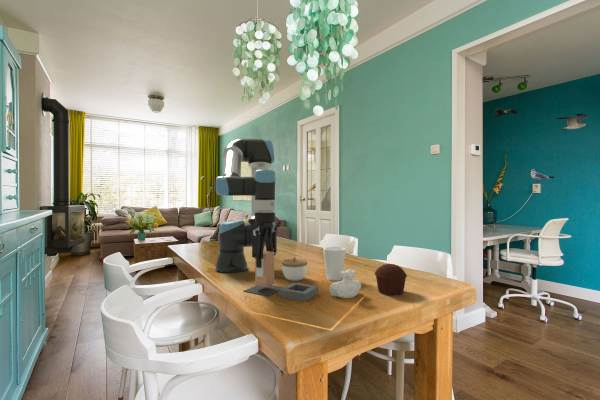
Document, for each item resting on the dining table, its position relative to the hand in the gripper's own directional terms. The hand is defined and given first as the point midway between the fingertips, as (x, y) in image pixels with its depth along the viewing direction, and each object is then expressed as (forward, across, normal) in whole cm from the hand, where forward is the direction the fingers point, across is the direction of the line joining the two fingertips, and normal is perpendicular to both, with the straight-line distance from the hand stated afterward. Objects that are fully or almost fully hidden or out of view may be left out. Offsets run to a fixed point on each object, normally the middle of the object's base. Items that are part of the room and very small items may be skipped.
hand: (264, 274), depth 113 cm
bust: (+6, +8, -29) cm, 31 cm away
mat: (+6, 0, 0) cm, 6 cm away
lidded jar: (+6, +19, -2) cm, 20 cm away
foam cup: (+6, +29, -16) cm, 34 cm away
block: (+4, 0, 0) cm, 4 cm away
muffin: (+6, +22, -41) cm, 47 cm away
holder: (+6, +1, -14) cm, 15 cm away
